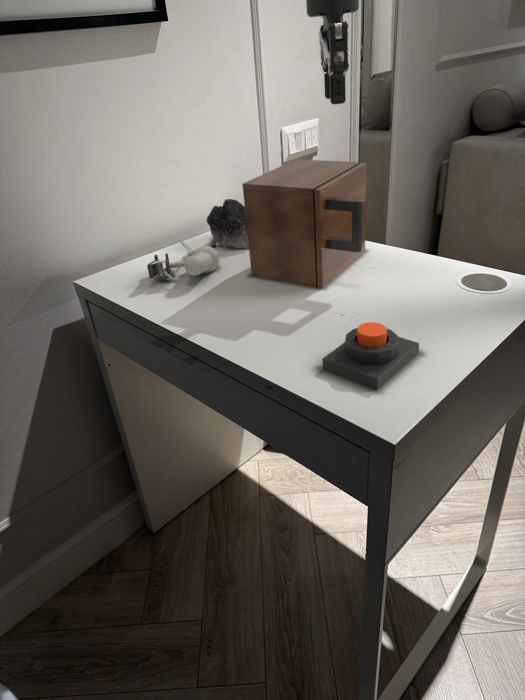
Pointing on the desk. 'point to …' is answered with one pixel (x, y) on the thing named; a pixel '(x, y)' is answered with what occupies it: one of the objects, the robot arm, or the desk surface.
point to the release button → (371, 334)
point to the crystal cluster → (229, 224)
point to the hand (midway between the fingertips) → (334, 100)
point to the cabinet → (287, 219)
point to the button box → (370, 359)
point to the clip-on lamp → (187, 262)
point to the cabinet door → (340, 223)
